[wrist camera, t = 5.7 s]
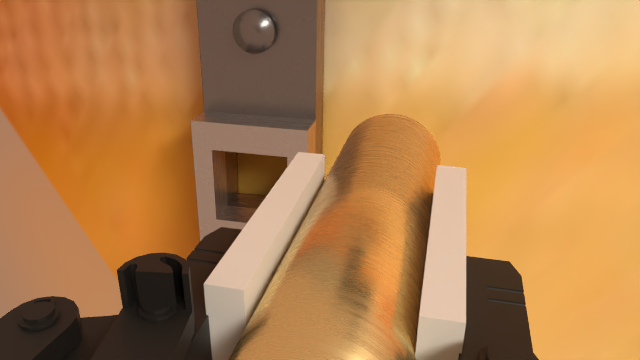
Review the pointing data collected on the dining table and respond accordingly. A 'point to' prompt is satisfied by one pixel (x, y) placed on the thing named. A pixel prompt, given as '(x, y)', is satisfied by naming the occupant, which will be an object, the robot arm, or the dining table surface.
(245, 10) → the riveted square sleeve
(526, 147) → the dining table surface
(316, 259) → the brass pin
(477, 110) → the dining table surface
